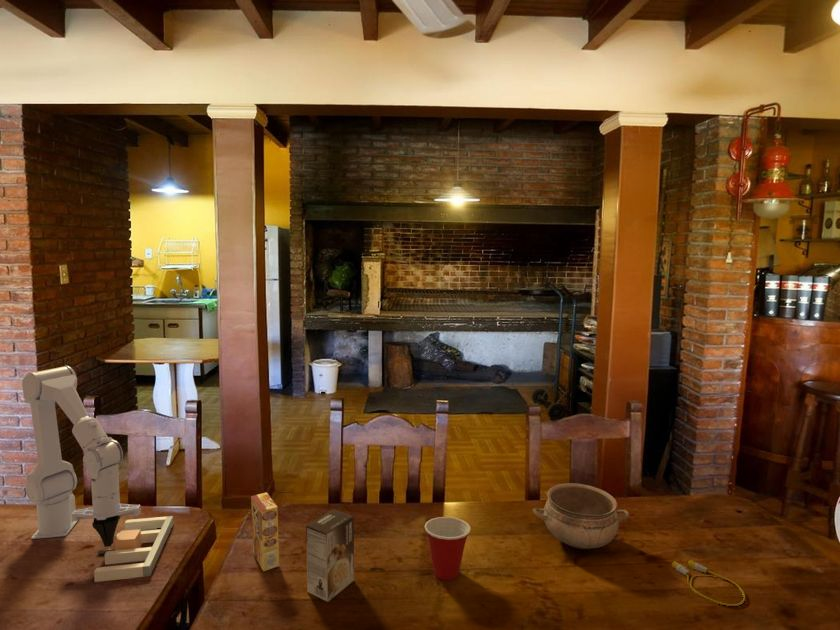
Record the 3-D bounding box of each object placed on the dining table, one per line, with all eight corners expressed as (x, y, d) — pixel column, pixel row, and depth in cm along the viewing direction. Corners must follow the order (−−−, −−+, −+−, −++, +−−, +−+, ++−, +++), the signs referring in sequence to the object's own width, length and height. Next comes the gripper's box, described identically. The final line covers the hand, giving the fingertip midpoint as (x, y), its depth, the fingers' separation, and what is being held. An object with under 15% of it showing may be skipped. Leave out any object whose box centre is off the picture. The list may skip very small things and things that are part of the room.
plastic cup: (467, 559, 130) (468, 514, 128) (470, 588, 119) (472, 538, 118) (423, 558, 130) (424, 512, 128) (423, 586, 119) (424, 537, 118)
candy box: (280, 566, 126) (279, 506, 123) (262, 572, 123) (261, 511, 121) (268, 548, 133) (267, 491, 131) (251, 553, 130) (250, 495, 128)
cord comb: (126, 528, 141) (126, 519, 140) (173, 524, 143) (172, 515, 143) (94, 582, 119) (93, 571, 118) (150, 576, 121) (149, 566, 121)
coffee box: (333, 571, 124) (333, 507, 122) (354, 580, 121) (355, 515, 119) (306, 592, 117) (305, 524, 114) (327, 603, 113) (327, 533, 111)
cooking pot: (539, 562, 129) (541, 516, 128) (524, 522, 148) (526, 481, 147) (640, 564, 129) (644, 518, 128) (613, 524, 148) (616, 483, 147)
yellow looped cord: (718, 566, 130) (719, 559, 130) (757, 610, 115) (758, 602, 114) (668, 564, 130) (669, 557, 130) (700, 608, 115) (701, 600, 115)
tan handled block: (101, 548, 131) (100, 532, 131) (141, 545, 133) (140, 529, 132) (94, 559, 127) (93, 541, 126) (135, 556, 129) (134, 538, 128)
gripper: (64, 502, 122) (68, 557, 124) (133, 497, 125) (136, 550, 127) (77, 488, 129) (80, 540, 130) (142, 484, 132) (144, 534, 134)
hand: (108, 544), depth 129 cm, fingers closed
